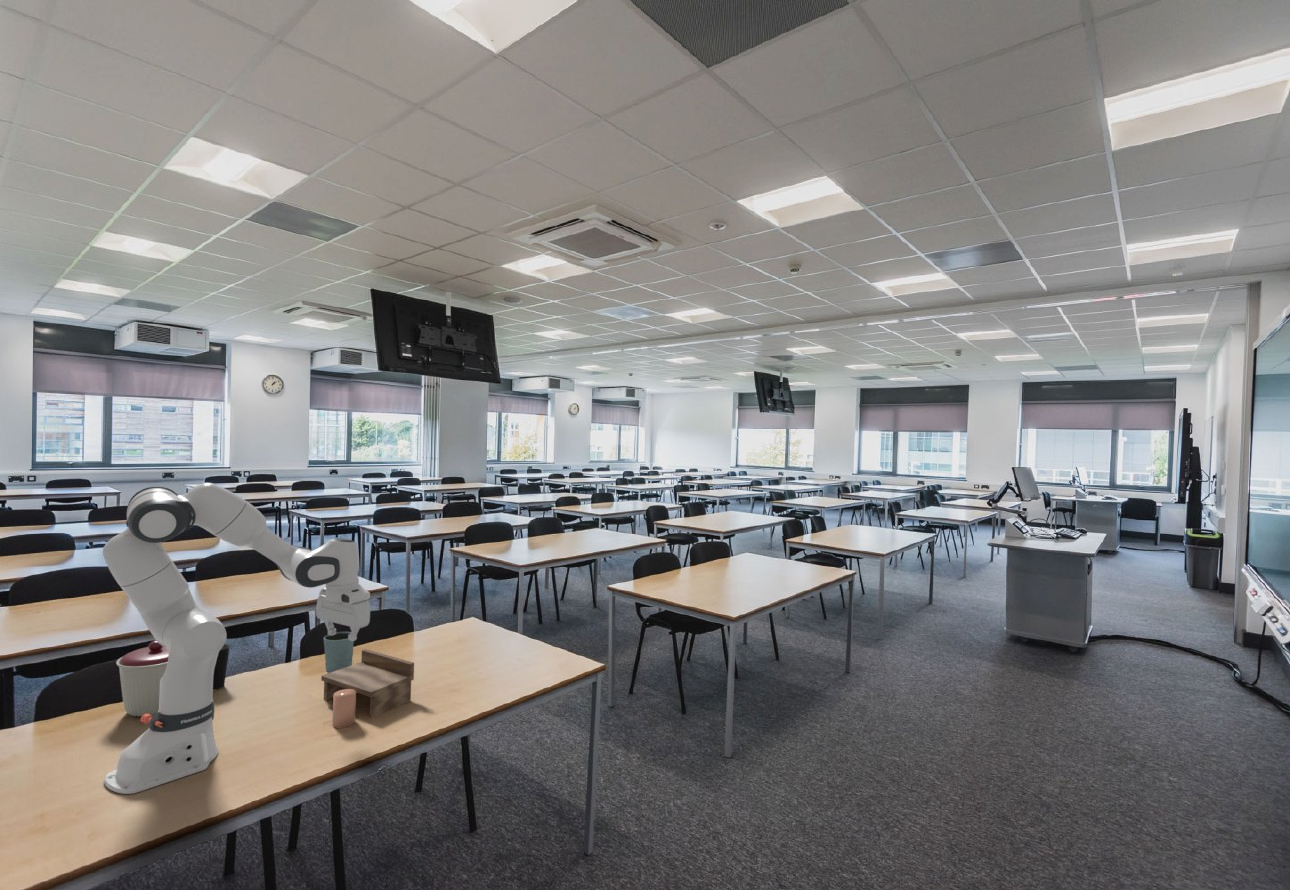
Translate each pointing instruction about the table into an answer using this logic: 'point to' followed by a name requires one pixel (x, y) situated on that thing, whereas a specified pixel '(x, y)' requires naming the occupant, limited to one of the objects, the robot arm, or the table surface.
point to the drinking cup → (221, 667)
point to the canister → (142, 678)
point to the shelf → (374, 681)
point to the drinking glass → (338, 651)
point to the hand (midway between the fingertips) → (342, 637)
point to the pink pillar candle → (344, 708)
